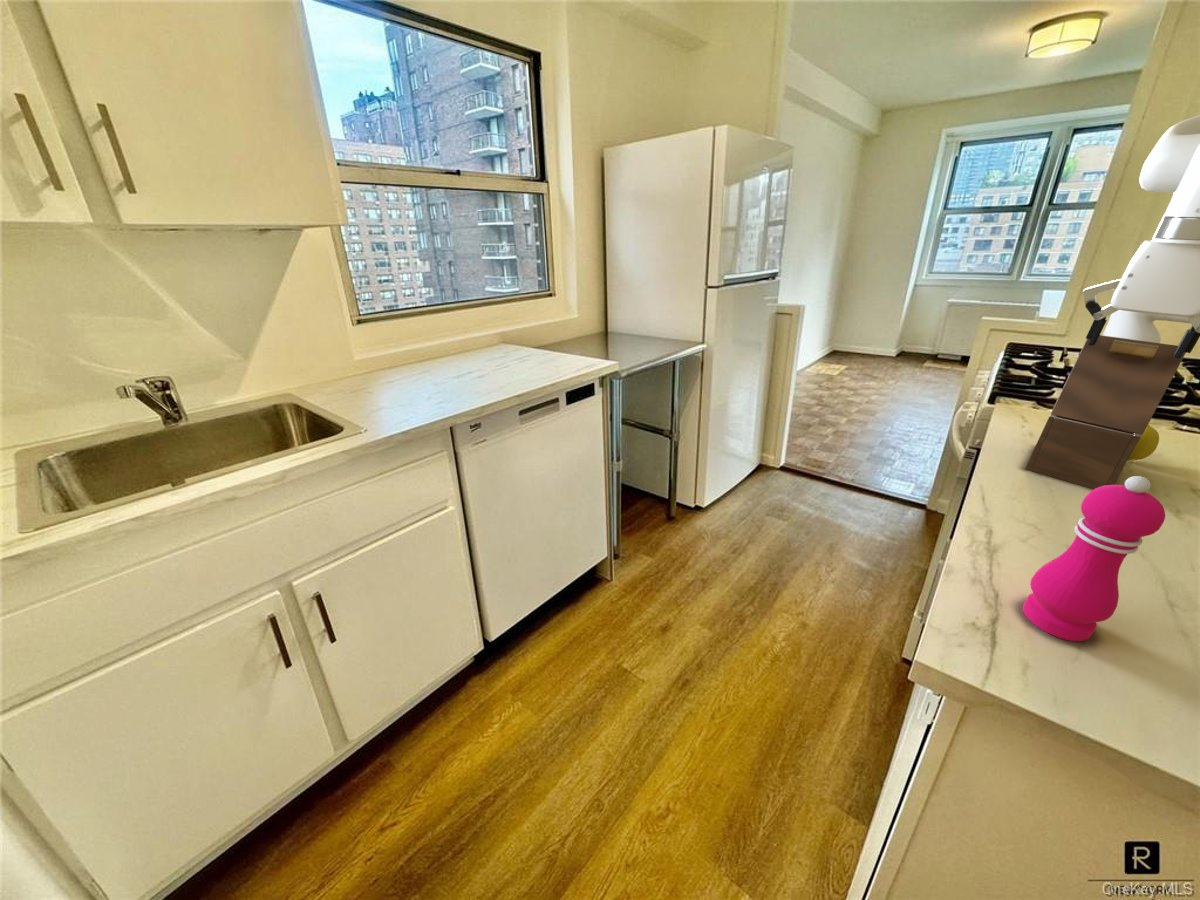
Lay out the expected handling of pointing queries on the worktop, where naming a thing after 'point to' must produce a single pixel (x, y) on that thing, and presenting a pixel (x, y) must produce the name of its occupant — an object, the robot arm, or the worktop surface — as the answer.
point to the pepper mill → (1093, 560)
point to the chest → (1081, 452)
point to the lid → (1118, 383)
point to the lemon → (1145, 444)
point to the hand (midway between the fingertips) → (1132, 350)
